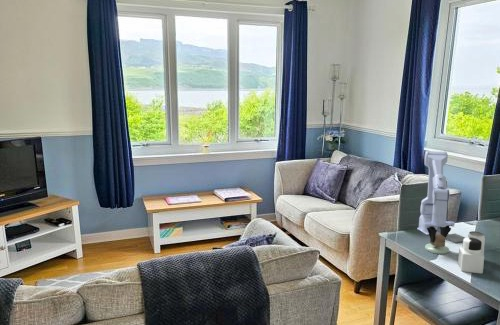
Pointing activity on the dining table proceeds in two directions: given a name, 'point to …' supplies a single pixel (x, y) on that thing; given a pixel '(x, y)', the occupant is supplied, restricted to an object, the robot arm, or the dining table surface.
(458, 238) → the slate coaster
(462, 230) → the dining table surface
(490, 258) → the dining table surface
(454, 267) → the dining table surface
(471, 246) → the container
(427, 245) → the sage dish
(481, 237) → the can
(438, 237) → the walnut block
